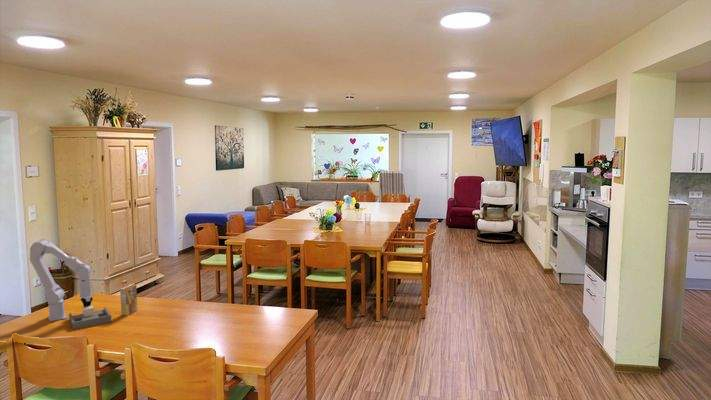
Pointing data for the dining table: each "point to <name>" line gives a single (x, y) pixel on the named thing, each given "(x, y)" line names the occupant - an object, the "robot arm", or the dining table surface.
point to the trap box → (90, 319)
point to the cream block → (88, 311)
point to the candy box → (128, 299)
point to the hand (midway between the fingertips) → (87, 310)
